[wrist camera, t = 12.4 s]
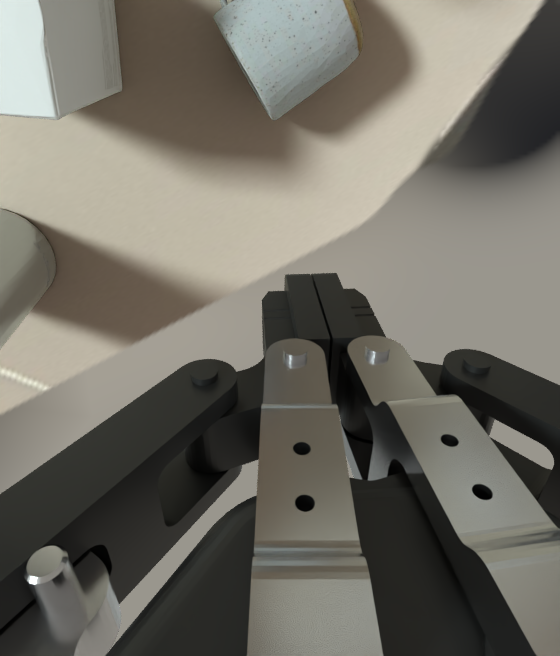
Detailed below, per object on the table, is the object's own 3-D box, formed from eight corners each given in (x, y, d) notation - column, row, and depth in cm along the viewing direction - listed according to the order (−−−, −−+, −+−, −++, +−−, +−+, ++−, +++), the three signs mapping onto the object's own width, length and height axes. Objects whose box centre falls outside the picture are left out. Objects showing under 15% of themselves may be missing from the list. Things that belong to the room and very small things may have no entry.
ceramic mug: (356, 53, 36) (382, 53, 29) (269, 116, 37) (274, 129, 31) (283, -102, 31) (294, -145, 24) (186, -20, 33) (172, -39, 26)
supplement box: (-29, -69, 30) (-224, -152, 18) (111, -54, 31) (22, -122, 18) (3, 86, 35) (-131, 109, 22) (124, 95, 36) (61, 122, 23)
